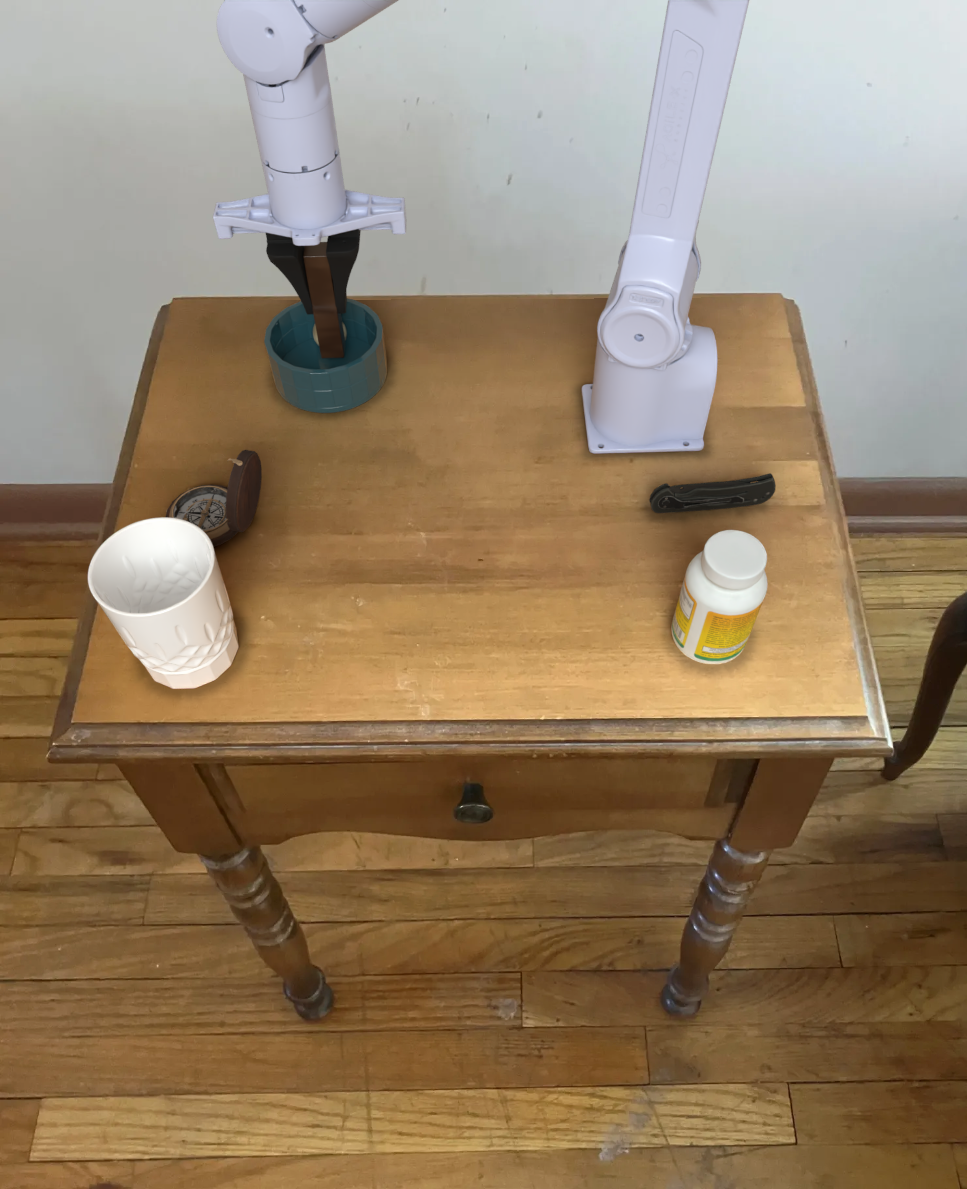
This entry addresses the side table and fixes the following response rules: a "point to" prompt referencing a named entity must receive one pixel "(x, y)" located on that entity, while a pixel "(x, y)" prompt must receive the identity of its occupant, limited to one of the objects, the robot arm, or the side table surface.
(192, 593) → the white cup
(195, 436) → the side table surface
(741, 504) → the folding knife
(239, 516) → the compass
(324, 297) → the stirring stick
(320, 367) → the bowl
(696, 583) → the supplement bottle
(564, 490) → the side table surface
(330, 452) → the side table surface
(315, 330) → the bead
